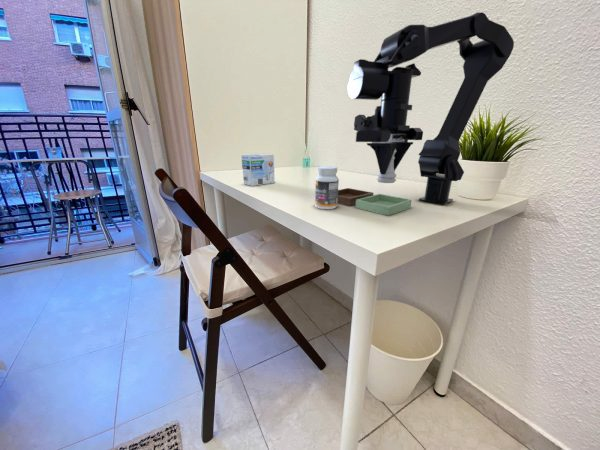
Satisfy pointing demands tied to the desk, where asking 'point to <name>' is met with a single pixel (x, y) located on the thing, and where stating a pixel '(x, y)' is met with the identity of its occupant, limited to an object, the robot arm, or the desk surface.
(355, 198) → the walnut tray
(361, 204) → the sage tray
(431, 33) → the robot arm
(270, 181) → the light bulb box
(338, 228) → the desk surface
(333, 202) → the pill bottle
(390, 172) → the rook chess piece
